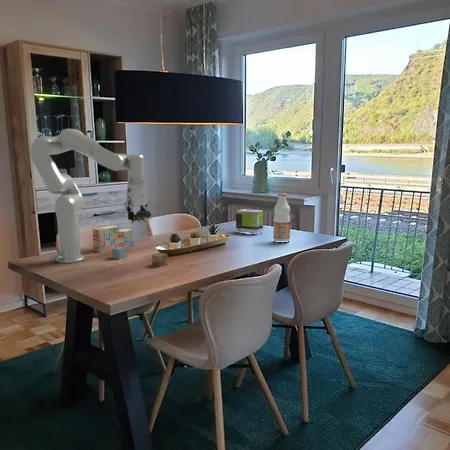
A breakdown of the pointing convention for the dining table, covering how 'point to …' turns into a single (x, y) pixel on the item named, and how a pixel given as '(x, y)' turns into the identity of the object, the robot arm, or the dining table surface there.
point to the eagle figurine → (141, 216)
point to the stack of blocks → (111, 238)
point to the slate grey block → (119, 252)
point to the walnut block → (159, 259)
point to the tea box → (249, 221)
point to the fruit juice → (281, 219)
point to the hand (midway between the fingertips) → (136, 218)
